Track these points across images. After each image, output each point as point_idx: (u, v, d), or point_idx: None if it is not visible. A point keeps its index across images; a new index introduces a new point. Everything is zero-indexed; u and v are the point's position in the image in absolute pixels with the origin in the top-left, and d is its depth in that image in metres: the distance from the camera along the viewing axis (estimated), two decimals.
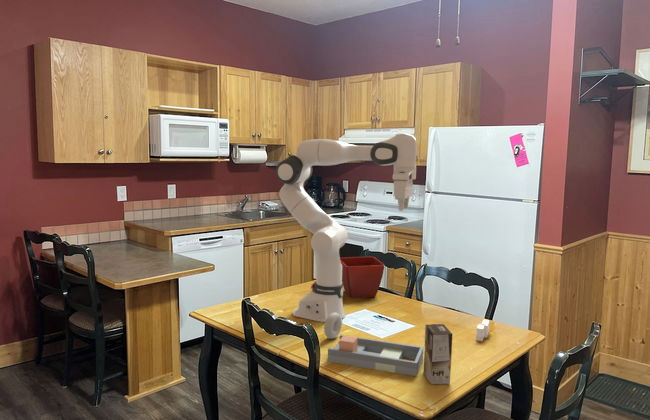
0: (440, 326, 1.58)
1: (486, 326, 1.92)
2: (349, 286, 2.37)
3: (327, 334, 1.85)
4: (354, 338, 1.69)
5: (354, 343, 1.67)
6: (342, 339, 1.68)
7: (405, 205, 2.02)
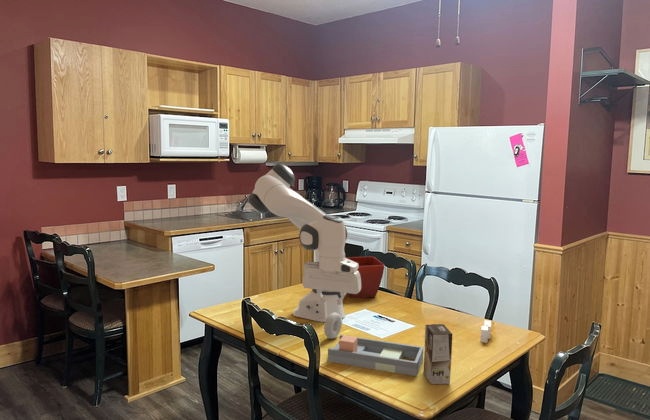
0: (440, 326, 1.58)
1: (489, 327, 1.91)
2: None
3: (327, 334, 1.85)
4: (354, 338, 1.69)
5: (354, 343, 1.67)
6: (342, 339, 1.68)
7: (324, 299, 1.70)
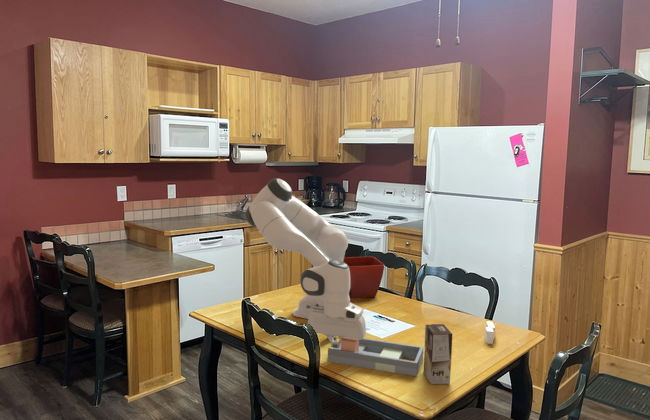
0: (440, 326, 1.58)
1: (493, 328, 1.90)
2: None
3: None
4: None
5: (356, 343, 1.67)
6: (344, 339, 1.68)
7: None
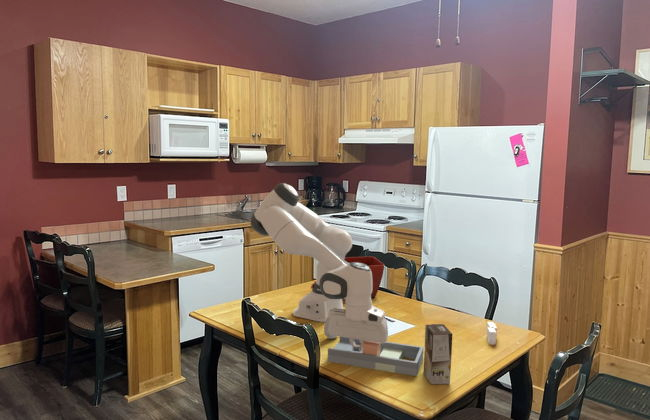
0: (440, 326, 1.58)
1: (495, 329, 1.89)
2: None
3: (327, 334, 1.85)
4: (377, 342, 1.66)
5: (378, 347, 1.64)
6: (365, 343, 1.65)
7: None
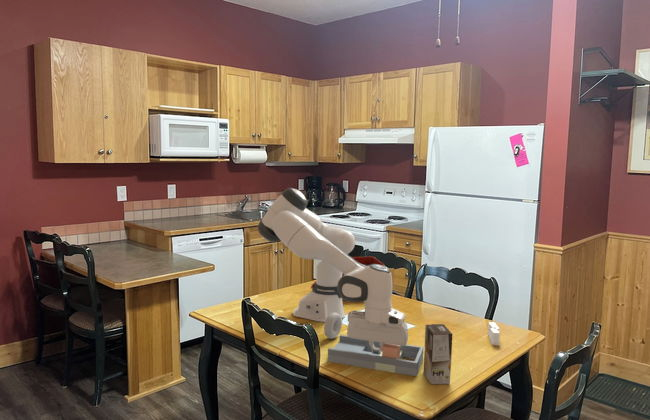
0: (440, 326, 1.58)
1: (498, 329, 1.89)
2: None
3: (327, 334, 1.85)
4: (397, 345, 1.64)
5: (398, 350, 1.62)
6: (385, 345, 1.63)
7: None
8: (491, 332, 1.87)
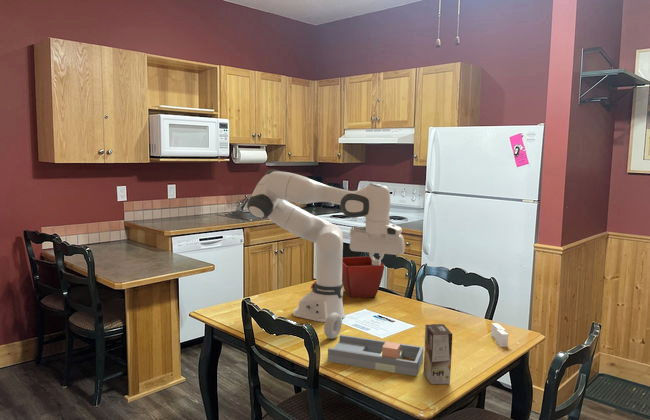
0: (440, 326, 1.58)
1: (504, 330, 1.88)
2: (349, 286, 2.37)
3: (327, 334, 1.85)
4: (397, 345, 1.64)
5: (397, 350, 1.62)
6: (385, 346, 1.63)
7: None
8: (499, 334, 1.86)
